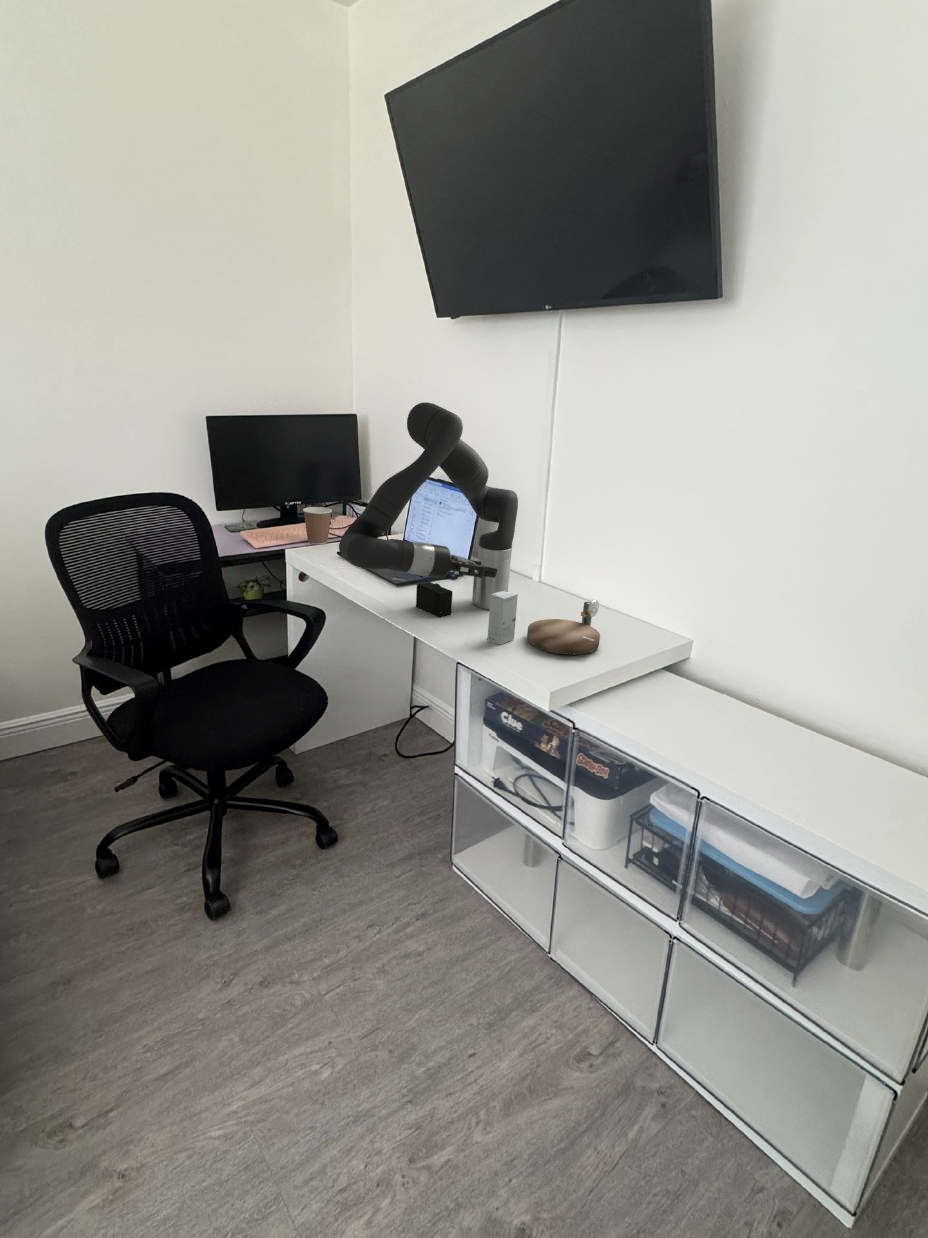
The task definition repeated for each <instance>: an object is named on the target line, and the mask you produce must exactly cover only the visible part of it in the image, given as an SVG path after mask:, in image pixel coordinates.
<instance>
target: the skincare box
mask: <svg viewBox="0 0 928 1238" xmlns="http://www.w3.org/2000/svg"><path fill="white" fill-rule="evenodd" d="M518 595H519V594H518V593H516V592H513V591H509V590H508V591H501V592H497V593H494V594H491V597H490V609H489V610H488V611H489V613H488V614H489V615H488V626H487V627H488V628H487V641H489V642H490V641H491V642H490V643H493V644H497V645H498V646H499V645H503V644H505V643H509V642H511V641H513V640H514V639H515V630H516V621H517V619H516V618H517V609H518Z"/></svg>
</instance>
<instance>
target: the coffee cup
mask: <svg viewBox="0 0 928 1238" xmlns="http://www.w3.org/2000/svg"><path fill="white" fill-rule="evenodd" d="M332 511H333V509H331V508H329V507H322V506H321V507H320V506H310V507H305V508H303V509H302V512H303V517H304V523H305V531H306V537H307V541H308V544H310V545H311V544H312V545H324V544H327V543H328V540H329V534H330V526H331V518H332V517H331V516H332Z"/></svg>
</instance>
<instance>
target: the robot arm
mask: <svg viewBox="0 0 928 1238" xmlns="http://www.w3.org/2000/svg"><path fill="white" fill-rule="evenodd" d="M406 418H407V420H406V428H407V432H408V435H409V437H410V438H411V439H412V441H414V442H415V443H416V444H418V445H419V446H420V447H421V448H423V449H424V450H423V451H422V452H421V454H420V455H419V456H418V457H417V458H416V459H415V460H414V461H413V462H411V463H410V464H409V465H408V466H406V467H404V468H403V469H402V470H400V471H398V472H396V473H395V474H393V475H392V476H390V477H389V478H387V479H386V480H385V481H383V483H381V485H380V486H379V487H378V488H377V489H376V491H375V493H373V495H372V497H371V499H370V500H369V502H368V503H367V505H366V506H365V508H364V510H363V511H362V513H360V515H358V517H356V518H355V520H354V521H353V522H352V523H351V524H350V525H349V526H348V527H347V529H346V530H345V531H344V532H343V535H342V536H341V538H340V541H339V543H338V550H339V554H340V555H341V557H342V558H343V559H344V560H345V561H346V562H347V563H349V564H351V565H353V566H354V567H357V568H363V569H371V570H372V569H373V570H374V569H375V570H390V571H394V572H395V571H397V572H401V573H402V572H403V573H408V574H410V575H411V574H412V575H415V576H423V577H429V578H436V579H444V578H446V576H447V575H448V573H449V572H451V573H452V574H454V575H460V576H462V575H463V576H467V577H473V583H472V584H473V585H472V598H471V604H474V605H475V606H476V607H478V608H481V609H485V610H490V597H491V594H494V593H497V592H501V591H509V583H510V574H511V571H510V570H511V563H512V562H511V561H512V551H513V550H512V549H513V541H514V537H515V532H516V531H515V529H516V522H517V515H518V508H519V497H518V495H517V493H516V492H515V491H514V490H512V489H511V490H510V489H507V488H506V489H504V488H499V487H491V486H488V485H487V483H488V480H489V468H488V467H487V466H488V465H487V464H486V463H485V461H484V459H482V457H481V456H480V455H479V453H478V452H477V451H476V450H475V449H474V448H473V447H472V446H470V445H469V444H467V443H466V442H465V441H464V440H462V439H461V437H462V434H463V429H464V425H463V421H462V419H461V417H460V416H458V414H456V413H454V412H452V411H451V410H448V409H446V408H444V407H442V406H439V405H437V404H435V403H431V402H419V403H418V404H415V405H414V406H413V407H412V408H411V409H410V410H409V413H408V415H407V417H406ZM438 468H440V470H442V472H444V474H445V475H446V476H447V478H448V479H449V480H450V482H452V483H453V485H454V486H455V487H456V488H457V489H458V490H459V491H460V492H461V494H462V495H463V496H464V497H465V498H466V500H467V501H468V502H469V505H470V506H471V508H472V509H473V511H474V513H475V514H476V516H477V517H478V518H479V519H481V520H483V521H485V522H492V523H497V530H494V531H491V532H490V531H489V532H485V533H483V534H481V535H480V536H479V537H478V538H479V541H478V553H477V554H478V555H477V560H474V559H473V560H472V559H468V558H466V557H464V556H460V555H456V554H451V550H450V549H449V548H450V547H449V548H448V546H445V545H440V544H433V543H427V542H421V541H408V540H404V539H399V538H398V539H397V538H396V539H395V538H389V539H384V538H379V537H380V536H381V534H383V533H385V532H388V531H389V530H390V529H391V528H392V527H393V526H394V524H395V522H397V519H398V518H399V516H400V515H401V513H402V511H403V510H404V509H405V507H406V506H407V504H408V502H409V501H410V500H411V498H412V497H413V496H414V494H416V493H417V491H419V489H420V488H421V486H423V485H424V483H425V482H426V481H427V480H428V479H429V478H430V476H432V475H433V473H434V472H436V470H437V469H438Z"/></svg>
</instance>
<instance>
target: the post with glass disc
mask: <svg viewBox="0 0 928 1238" xmlns="http://www.w3.org/2000/svg"><path fill="white" fill-rule="evenodd" d="M599 608H600V602H599V601H598V600H597V599H592V600H591V601H583V609H582V611H581V612H580V616H581V617H582V618H581V623H583V624H586V625H589V626H591V627H592V625H591V624H592V619H593V617H595V616H597V614H598V611H599Z"/></svg>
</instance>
